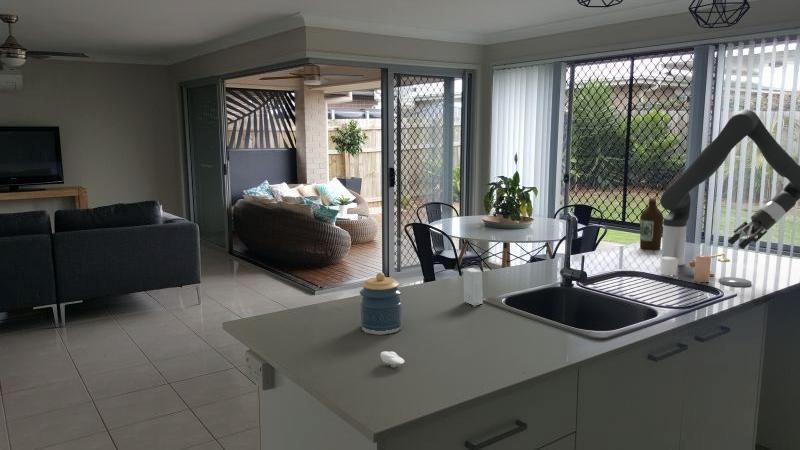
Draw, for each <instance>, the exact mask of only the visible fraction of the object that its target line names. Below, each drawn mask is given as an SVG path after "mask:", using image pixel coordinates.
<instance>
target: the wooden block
mask: <svg viewBox="0 0 800 450" xmlns="http://www.w3.org/2000/svg"><path fill="white" fill-rule="evenodd" d="M711 256H712V255H708V254H707V255H705V254H697V255H695V258H694V259H695V261H694V262H695V269H694V274H693V275H694V277H693V281H694V282H695V281H697V282H696V283H698V282H709V283H710V280H711V276H710V271H711V268H712V267H711V265H712V258H711Z"/></svg>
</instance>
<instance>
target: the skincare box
mask: <svg viewBox="0 0 800 450" xmlns="http://www.w3.org/2000/svg"><path fill="white" fill-rule="evenodd" d="M462 272H463V273H462V274H463V276H462V277H463V301H465V302H467V303H469V304H472V305H478V304H482V303H483V304H484V302H483V301H484V300H483V299H484V298H483V297H484V296H483V295H484V294H483V271H482V270H479V269H477V268H473V267H470V268H464V269H463V270H462ZM465 302H464V303H465ZM467 303H466V304H467ZM469 304H468V305H469Z"/></svg>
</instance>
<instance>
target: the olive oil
mask: <svg viewBox="0 0 800 450" xmlns="http://www.w3.org/2000/svg"><path fill="white" fill-rule="evenodd" d="M639 218H640V219H639V221H640V222H639V226H640V227H639V228H640V229H639V230H640V231H639V234H640V235H639V236H640V238H639V242H640V243H639V248H640V249H642V250H647V251H656V250H660V249H661V248H662V237H663V221H664V215H663V212H662V211H661V210H660V209H659V208H658V207H657V198H648V206H647V207H646V208H645V209H644V210H642V212H641V215H640V217H639Z"/></svg>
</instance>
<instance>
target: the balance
mask: <svg viewBox="0 0 800 450" xmlns="http://www.w3.org/2000/svg"><path fill="white" fill-rule="evenodd" d="M725 255H726V254H725V253H724V252H723V253H718V254H713V255H710V256H711V259H712V258H713V259H714V258H717V261H718V262H721V263H730V262H731V260H730V259H728V258H725ZM721 256H722V258H718V257H721ZM695 259H696V258H693V259H691V260H690V261H689V264H687V265H686V266H685V267H686V268H688V269H694V270H695ZM713 276H714V277H715V274H714V273H713V272H712V271H711V270H710V277H713Z"/></svg>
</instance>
